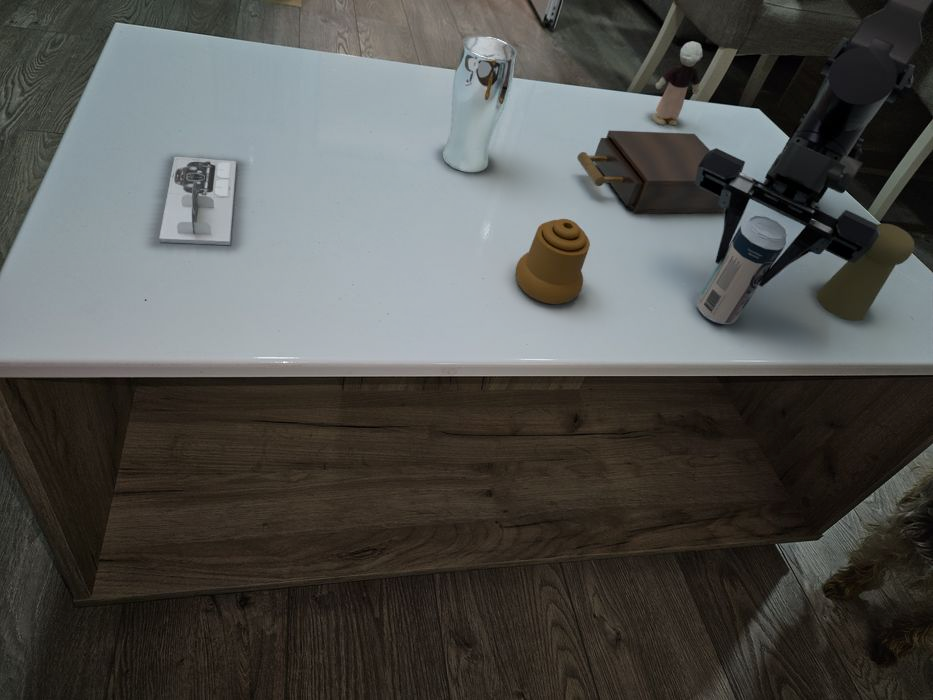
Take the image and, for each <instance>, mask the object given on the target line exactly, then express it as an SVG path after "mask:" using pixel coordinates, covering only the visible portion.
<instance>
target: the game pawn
mask: <svg viewBox="0 0 933 700" xmlns="http://www.w3.org/2000/svg"><path fill="white" fill-rule="evenodd" d="M876 224H877V225H878V227H879V232H880V234H879V236H878V238H877V239H876V241H875V243H874V244H873V246H872V247H871V249H870V250H869V251H868V252H867V253H866V254H865V255H863V256H862V257H861V258H860V259H859V260H857V261H856V262H855V263H853V262H848V261H846V262H845V263H844V264H843V265H842V266H841V268H839V269H838V270H837V271H836V272H835V273H834V274H833V275H832V276H831V278H829V280H827V281H826V282H825V283H824V284H823V285H822V287H820V289H818V291H816V292H817V297H816V298H817V299H818V301H819V303H820V304H821V306H822V307H823V308H825V309H826V310H827V311H828V312H829V313H831V314H833V315H834V316H836V317H838V318H840V319H843V320H846V321H850V322H859V321H862V320H863V319H864V318H865V316H866V315H867V313H868V312H869V310H870V308H871V307H872V305H873V303H874V302H875V300H876V298H877V297H878V295H879V293H880V292H881V290H882V289H883V287H884V285H885V284H886V283H887V280H888V279H889V277H890V275H891V274H892V273H893V270H894V269H895V267H896V266H897V265H901V264H903V263H905V262H906V261H907V260H908V259H909V258H910V257H911V256H912V254H913V252H914V250H915V240H914V239H913V237H912V235H910V233H908V232H907V231H906V230H905V229H903V228H901V227H899V226H897V225H894V224H890V223H876Z"/></svg>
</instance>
